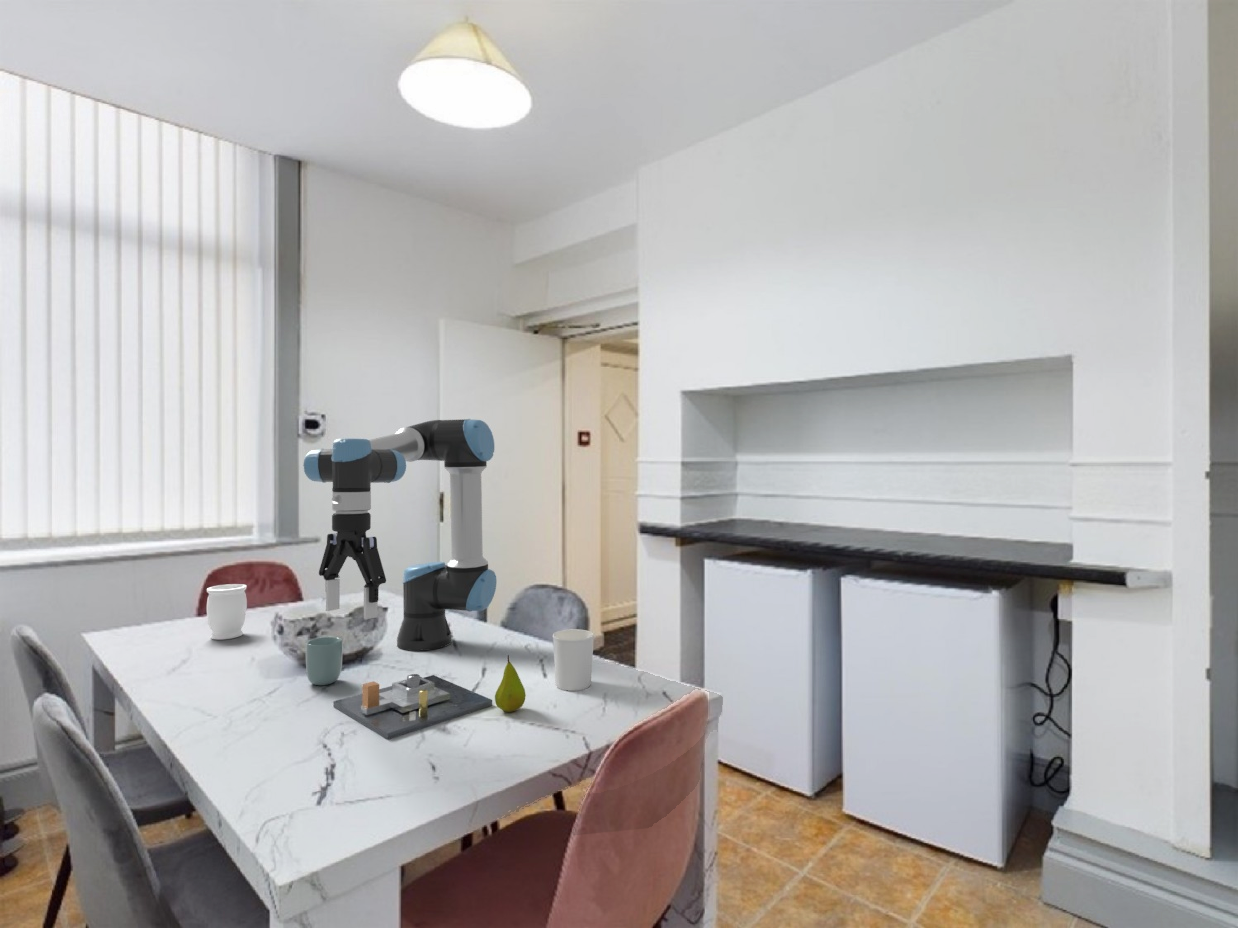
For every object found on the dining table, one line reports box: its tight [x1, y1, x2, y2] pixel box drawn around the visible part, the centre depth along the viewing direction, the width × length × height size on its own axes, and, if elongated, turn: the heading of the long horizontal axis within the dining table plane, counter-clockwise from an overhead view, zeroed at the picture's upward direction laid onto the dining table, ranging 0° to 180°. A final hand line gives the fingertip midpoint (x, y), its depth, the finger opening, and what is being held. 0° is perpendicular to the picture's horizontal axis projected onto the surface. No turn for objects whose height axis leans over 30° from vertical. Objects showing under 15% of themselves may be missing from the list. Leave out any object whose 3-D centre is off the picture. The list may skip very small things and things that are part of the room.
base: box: [333, 673, 493, 740], centre depth 141 cm, size 24×24×6 cm
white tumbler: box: [552, 628, 595, 692], centre depth 154 cm, size 10×10×12 cm
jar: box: [206, 583, 248, 641], centre depth 196 cm, size 11×10×15 cm
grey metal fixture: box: [361, 676, 450, 715], centre depth 139 cm, size 16×11×6 cm, turn 137°
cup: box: [305, 636, 343, 686], centre depth 155 cm, size 8×8×10 cm
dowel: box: [419, 690, 427, 717], centre depth 132 cm, size 2×2×5 cm
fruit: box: [494, 655, 526, 713], centre depth 138 cm, size 6×6×12 cm
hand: (351, 613), depth 137 cm, fingers open, 12 cm apart
